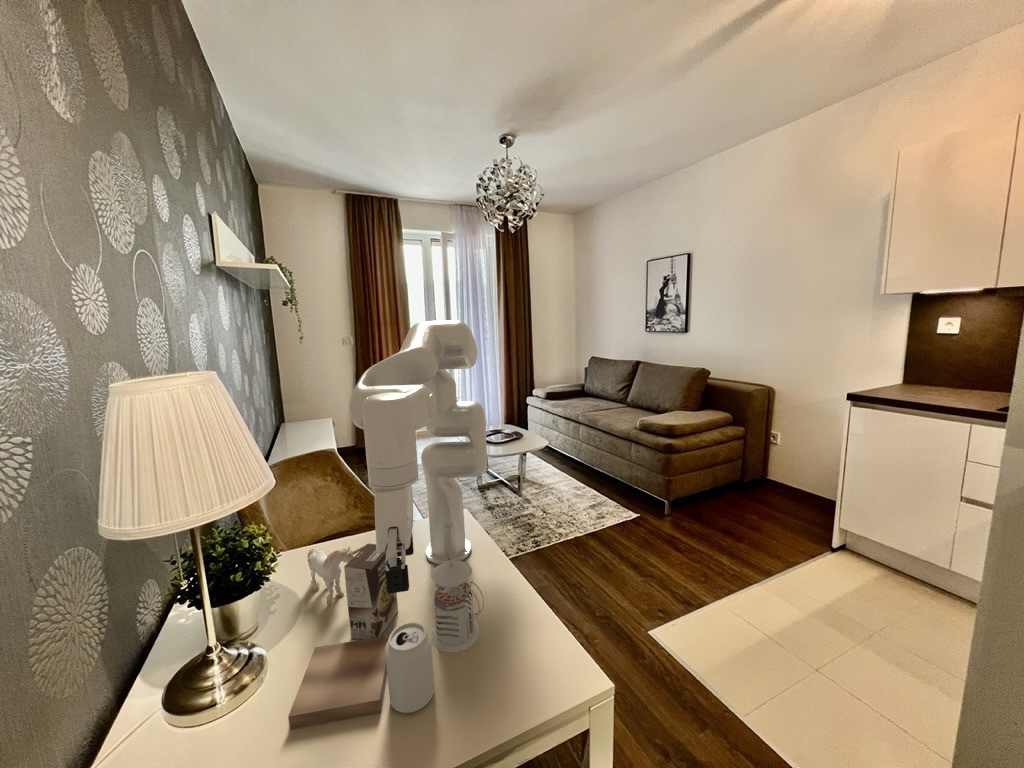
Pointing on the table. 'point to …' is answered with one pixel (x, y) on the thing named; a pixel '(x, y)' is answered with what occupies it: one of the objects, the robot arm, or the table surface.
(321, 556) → the unicorn figurine
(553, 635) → the table surface
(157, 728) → the table surface
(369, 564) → the coffee box
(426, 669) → the can
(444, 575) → the french press
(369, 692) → the riser
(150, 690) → the table surface
